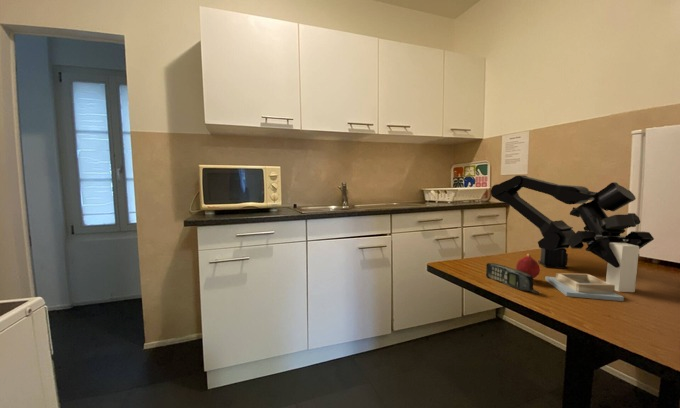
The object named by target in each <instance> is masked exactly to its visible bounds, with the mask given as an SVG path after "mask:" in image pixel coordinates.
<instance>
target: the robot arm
mask: <svg viewBox="0 0 680 408" xmlns="http://www.w3.org/2000/svg"><path fill="white" fill-rule="evenodd" d="M523 188H525V189H528V190H532V191H535V192H539V193H542V194H546V195H548V196H551V197H553V198H554V199H556V200H558V201H560V202H561V203H563V204H566V205H578V206H577V207H572V209H571V211H570V212H569V215H570V216H573V217H576V218H580V219H581V220H582V222H583V224H584V225H585V226H584V227H583V230H577V231H574V230H573V229H574V227H573V226H569V225H568V224H567V223H566V222H565V221H564V220H561V219H560V220H554V221H553V220H552V219H550V218H549V217H548V216H546V215H545V214H543V213H542V212H541V211H539V209H536V208H535V207H534V206H533V205H532V204H530V203H529V202H527V201H526V200H525V199H523V197H521V196H520V195H519V191H520V190H521V189H523ZM490 196H491V197H492V198H493V199H495V200H497V201H498V202H501V203H503V204H504V203H505V204H507V205H509V206H510V207H512V209H514V210H515V211H516V212H518V213H519V214H520V215H521V216H522V217H524V218H525V219H527V220H528V221H529V222H530V223H532V225H534V226H535V227H536V228H537V229H539V231H540V233H541V235H542V237H543V238H541V239H539V240H538V241H537V244H538V248H540V249H541V250H540V260H538V261H537V263H538V264H541V265H542V266H544V267H545V268H552V269H554V268H555V269H569V267H568V259H569V257H568V256H569V254H568V253H567V249H568V248H571V250H572V249H573V250H574V249H575V250H576V249H577V250H579V249H580V250H582V249H583V247H584V246H585V244H584V243H586V245H587V247H586V248H585V251H587V252H590V253H591V254H594V255H595V256H597V257H599V258H600V259H602V260H603V261H605V262H606V263H607V264H608V263H609V264H611V265H612V266H614V267H616V268H618V267H619V266H620V265H619V263H618V261H617V259H616V257H615V256H614V254H613V252H612V251H611V249H610V247H609V242H611V243H628V244H632V245H636V246H639V250H641V248H643V247H644V246H646V245H648V244H649V243H650V242H652V241H654V240H655V238H654V237H653V235H652V233H650V232H648V231H637V230H635V231H633V230H632V231H630V232H629V233H627V234H626V235H621V234H624V233H625V232H626V230H625V229H630V228H636V226H637V225H640V224H641V219H640V217H639V216H638V215H637V214H636V213H634V212H632V213H631V212H629V213H627V214H614V215H610V216H608V214H607V213H606V212H607V211H610V212H616V211H618V210H619V209H622V207H625V206H626V205H628V204H630V203H633V202H634V201H636V199H637V197H636V196H635V195H634V193H633V192H632V191H631V190H629V189H628V188H625V187H624V186H622V185H620V184H619V183H618V182H616V181H615V182H611V183H609V184H608V185H607V186H605V187H604V188H602V189H601V190H599V191H598V192H597V191H591V190H589V188H587V187H586V186H582V185H581V186H580V185H570V184H569V185H567V184H558V183H554V182H550V181H545V180H542V179H537V178H533V177H530V176H528V175H515V176H513V177H512V178H509V179H507V180H505V181H503V182H500V183H499V184H494V185H493V186H492V187H491V188H490ZM588 201H589V202H588ZM605 211H606V212H605ZM637 267H638V264H637Z"/></svg>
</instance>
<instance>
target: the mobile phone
mask: <svg viewBox="0 0 680 408" xmlns="http://www.w3.org/2000/svg"><path fill="white" fill-rule="evenodd" d="M485 273H486V274H485V275H486V278H488V279H490V280H492V281H496V282H498V283H501V284H503V285H505V286H508V287H509V288H510V287H511V288H513V289H515V290H516V289H517V290H520V291H528V292H531V293H533V294H536V295H539V294H540V291H538V290H535V289H534V282H535V281H534V278H533V277H532V276H531V275H529V274H527V273H525V272H522V271H519V270H517V269H516V268H511V267H509V266H506V265H502V264H498V263H495V262H488V263H486V272H485Z"/></svg>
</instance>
